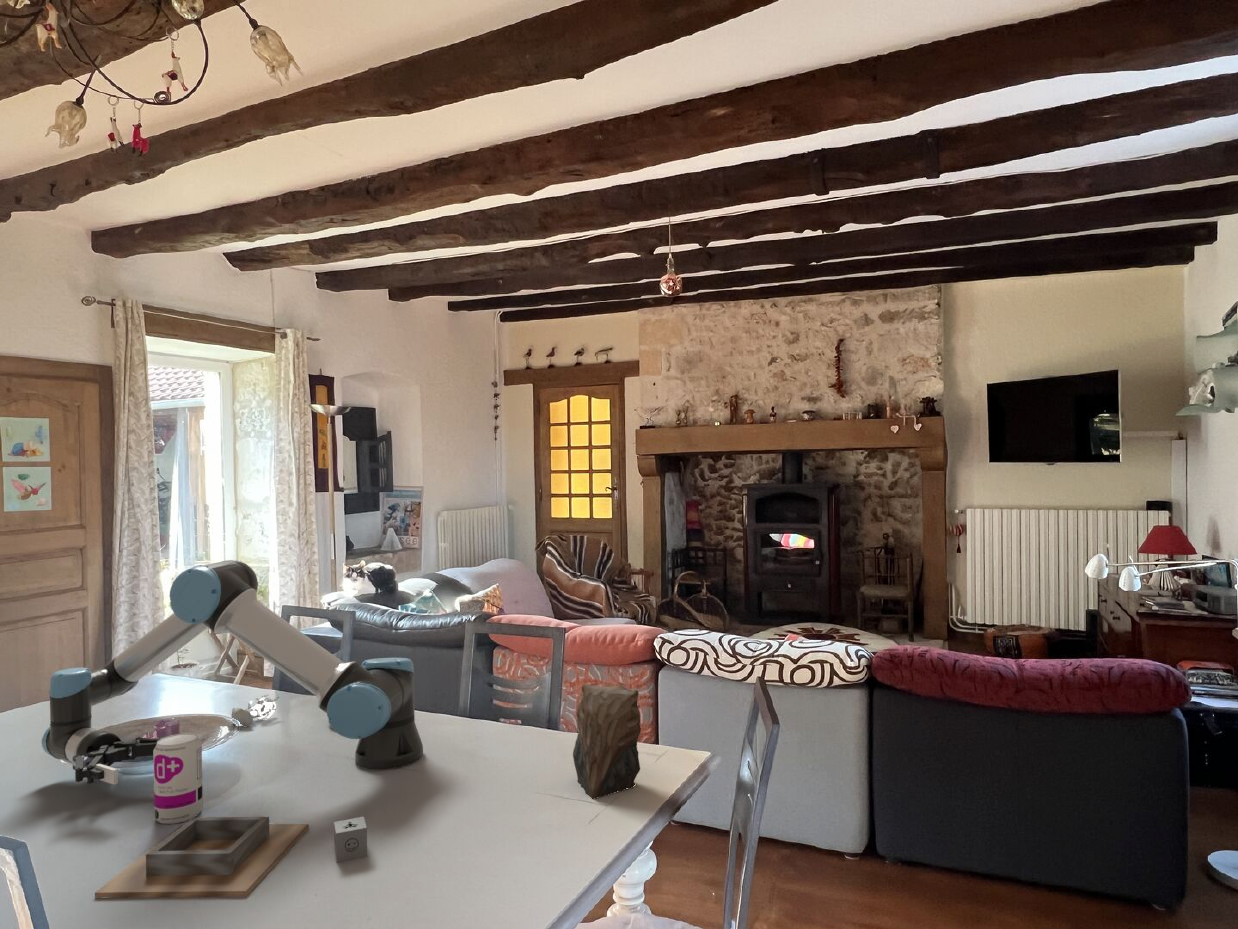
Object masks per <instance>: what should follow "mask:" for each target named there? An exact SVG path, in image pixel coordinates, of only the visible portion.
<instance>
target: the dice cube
mask: <svg viewBox="0 0 1238 929" xmlns="http://www.w3.org/2000/svg"><path fill="white" fill-rule="evenodd" d="M367 828H368V827H367V824H366V819H365V817H364V816H359V817H354V818H349V819H344V820H343V819H342V820H338V821H333V840H334V841H333V842H334V843H333V844H334V846H333V847H334V850H333V851H334V856H335V862H336V864H337V863H342V862H343V863H344V862H348V861H352V860H357V859H361V858H362V859H363V858H367V857H368V832H367V831H368V830H367Z"/></svg>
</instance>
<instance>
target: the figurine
mask: <svg viewBox="0 0 1238 929" xmlns="http://www.w3.org/2000/svg"><path fill="white" fill-rule="evenodd" d="M268 696H269V694H264V695H262V696H261V697H259V698H255V700H256V701H257V702H256V704H255V706H252V707H251V705H252V704H253V700H250V701H249V702H248V706H247V708H246V709H245V708H243V707H232V709H231V719H232V718H234V719H236V720H238V721H239V722H240V724H242V725H243V726H247V727H246V728H248V727H250V726H252V725H253V724H254V719H256V718H257V719H258V720H259V719H260V720H259V721H261V720H263V719H264V720H266V719H265V718H268V719H270V717H271V716H272V715H273V714H274V713H275V711H276V707H277V704H276V702H277V700H278V699H279V698H280V696H278V695H275V697H274V698H270V697H268ZM275 701H276V702H275Z"/></svg>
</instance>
